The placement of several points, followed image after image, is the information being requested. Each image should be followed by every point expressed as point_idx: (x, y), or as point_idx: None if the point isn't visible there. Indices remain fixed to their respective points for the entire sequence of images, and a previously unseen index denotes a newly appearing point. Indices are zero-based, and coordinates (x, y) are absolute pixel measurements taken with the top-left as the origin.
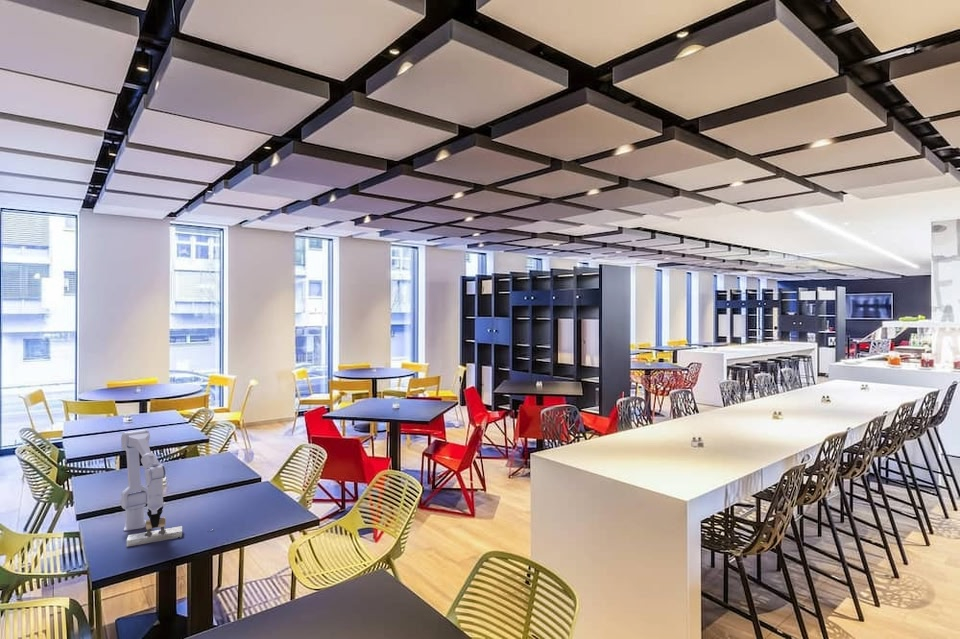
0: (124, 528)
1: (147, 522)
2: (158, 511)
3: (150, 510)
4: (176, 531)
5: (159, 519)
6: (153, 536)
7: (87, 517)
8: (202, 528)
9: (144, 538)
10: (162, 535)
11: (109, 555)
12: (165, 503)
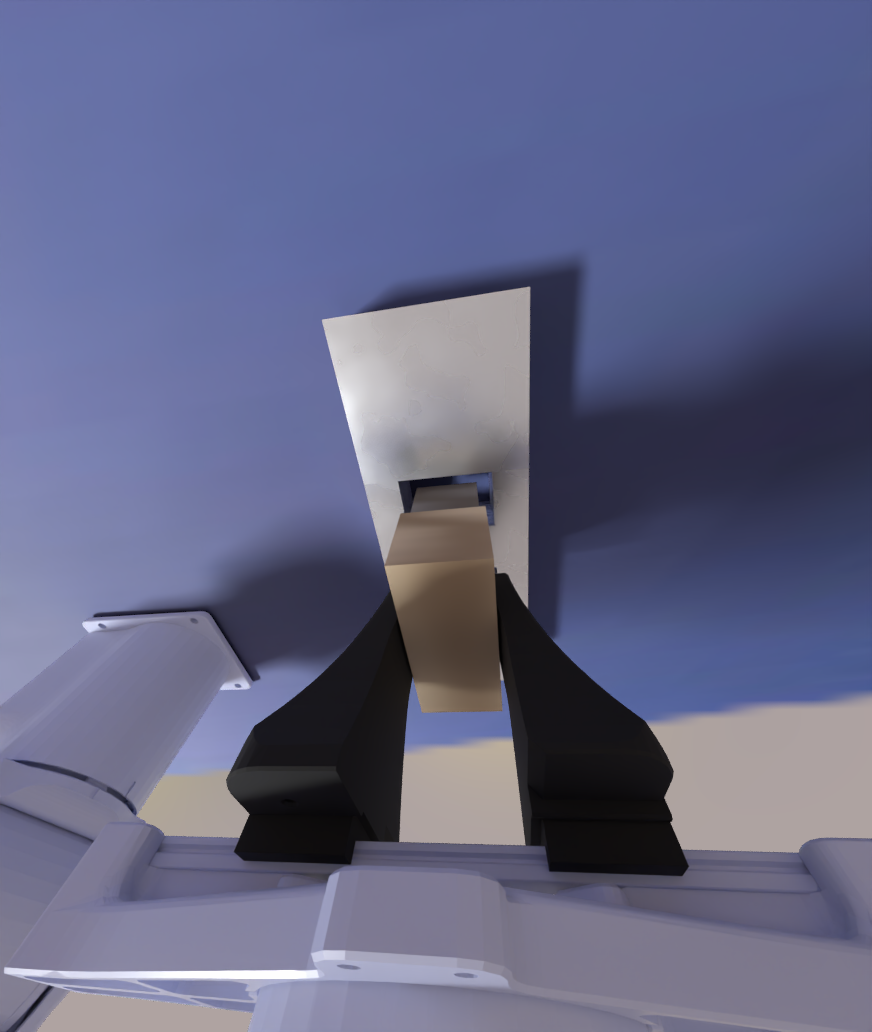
0: (224, 688)
1: (500, 697)
2: (603, 794)
3: (395, 830)
4: (501, 361)
5: (465, 617)
6: (526, 551)
7: None
8: (283, 4)
9: (526, 599)
10: (528, 487)
11: (607, 688)
12: (480, 972)
